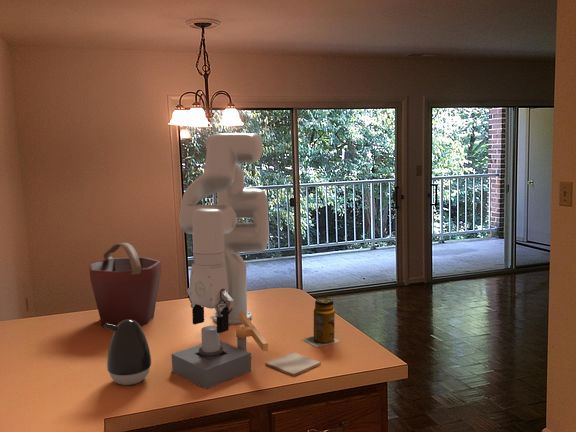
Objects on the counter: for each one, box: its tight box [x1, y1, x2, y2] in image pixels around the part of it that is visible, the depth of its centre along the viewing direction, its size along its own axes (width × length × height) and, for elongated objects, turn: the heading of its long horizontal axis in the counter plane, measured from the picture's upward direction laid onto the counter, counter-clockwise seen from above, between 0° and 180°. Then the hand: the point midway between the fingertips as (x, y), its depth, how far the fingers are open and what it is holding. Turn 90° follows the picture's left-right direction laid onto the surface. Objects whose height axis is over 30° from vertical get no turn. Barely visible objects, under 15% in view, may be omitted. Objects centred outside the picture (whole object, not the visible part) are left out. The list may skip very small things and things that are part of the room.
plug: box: [199, 325, 223, 360], centre depth 132 cm, size 6×6×11 cm
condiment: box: [302, 297, 341, 348], centre depth 153 cm, size 7×8×12 cm
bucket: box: [88, 242, 162, 328], centre depth 172 cm, size 24×22×25 cm
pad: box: [265, 351, 322, 377], centre depth 137 cm, size 10×10×1 cm
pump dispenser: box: [104, 319, 152, 386], centre depth 127 cm, size 10×10×15 cm
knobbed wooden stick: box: [235, 312, 269, 352], centre depth 140 cm, size 5×26×2 cm, turn 18°
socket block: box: [171, 337, 252, 390], centre depth 134 cm, size 14×20×6 cm
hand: (210, 327), depth 131 cm, fingers open, 9 cm apart
